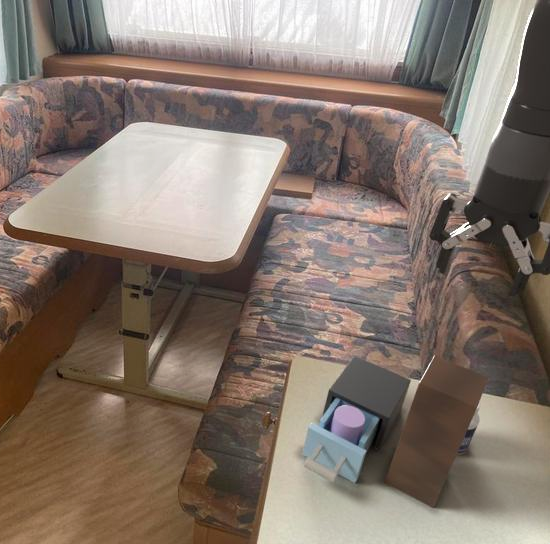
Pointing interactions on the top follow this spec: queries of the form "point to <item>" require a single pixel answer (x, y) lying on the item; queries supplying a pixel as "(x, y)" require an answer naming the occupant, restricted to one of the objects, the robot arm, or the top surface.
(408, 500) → the top surface
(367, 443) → the drawer
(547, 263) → the robot arm
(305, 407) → the top surface
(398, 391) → the cabinet
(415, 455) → the stand
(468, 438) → the pill bottle
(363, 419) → the purple cylinder
